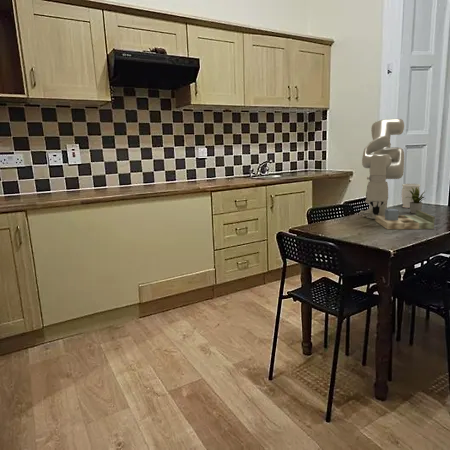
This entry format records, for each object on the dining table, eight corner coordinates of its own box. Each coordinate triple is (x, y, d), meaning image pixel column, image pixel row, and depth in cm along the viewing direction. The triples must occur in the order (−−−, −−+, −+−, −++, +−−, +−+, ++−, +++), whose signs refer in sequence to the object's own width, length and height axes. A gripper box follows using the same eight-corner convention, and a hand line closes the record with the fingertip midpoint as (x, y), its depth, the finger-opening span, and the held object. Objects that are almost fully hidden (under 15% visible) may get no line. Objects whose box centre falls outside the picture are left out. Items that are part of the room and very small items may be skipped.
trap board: (387, 229, 184) (388, 217, 183) (375, 221, 204) (376, 210, 202) (433, 228, 182) (434, 216, 181) (417, 220, 201) (418, 209, 200)
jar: (403, 208, 238) (404, 185, 235) (398, 205, 248) (400, 183, 244) (420, 208, 236) (422, 185, 233) (415, 205, 246) (417, 183, 243)
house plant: (395, 211, 230) (397, 184, 227) (417, 210, 231) (419, 183, 228) (409, 215, 216) (411, 187, 213) (431, 214, 217) (434, 186, 214)
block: (387, 220, 191) (388, 210, 189) (384, 218, 195) (385, 209, 194) (398, 220, 190) (398, 210, 189) (394, 218, 195) (395, 208, 194)
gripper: (364, 179, 186) (362, 215, 189) (395, 179, 184) (393, 215, 188) (360, 178, 193) (359, 213, 197) (390, 178, 192) (388, 213, 195)
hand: (375, 214), depth 192 cm, fingers closed
